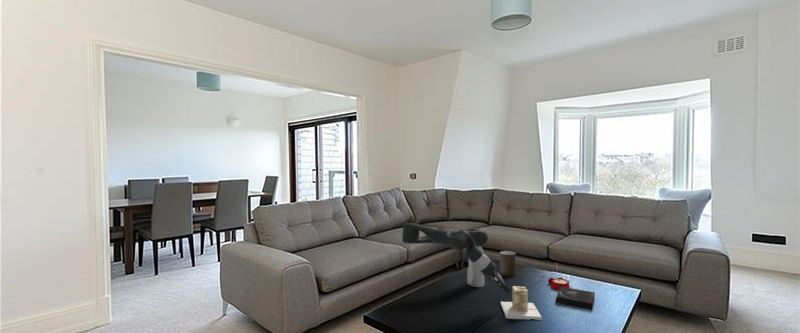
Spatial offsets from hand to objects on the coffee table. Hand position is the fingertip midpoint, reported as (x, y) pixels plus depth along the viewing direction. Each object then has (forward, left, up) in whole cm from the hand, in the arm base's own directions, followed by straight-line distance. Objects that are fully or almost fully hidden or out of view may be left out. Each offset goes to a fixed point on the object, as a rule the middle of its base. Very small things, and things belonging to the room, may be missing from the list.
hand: (507, 288), depth 178 cm
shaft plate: (+5, +4, -12) cm, 13 cm away
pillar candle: (-20, +56, -12) cm, 60 cm away
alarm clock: (+12, +51, -12) cm, 54 cm away
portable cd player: (+24, +34, -12) cm, 43 cm away
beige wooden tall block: (+5, +4, -10) cm, 12 cm away
